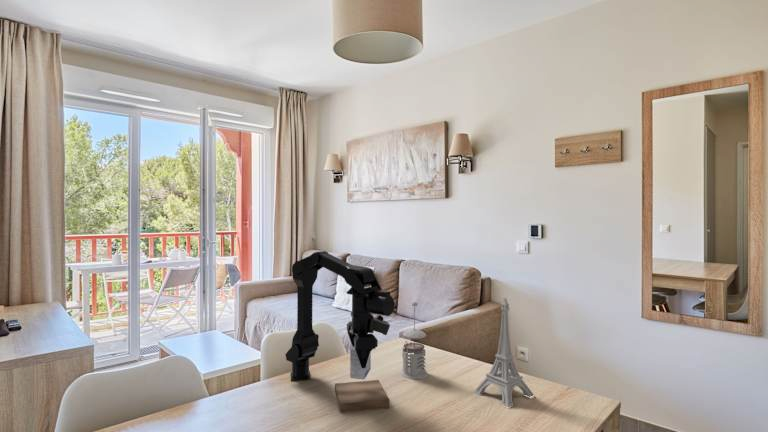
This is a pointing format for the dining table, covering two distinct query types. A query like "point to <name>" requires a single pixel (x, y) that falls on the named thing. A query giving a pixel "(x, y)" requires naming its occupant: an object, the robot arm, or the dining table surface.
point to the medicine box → (358, 366)
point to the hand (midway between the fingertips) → (360, 362)
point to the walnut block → (361, 396)
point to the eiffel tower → (504, 366)
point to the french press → (417, 358)
